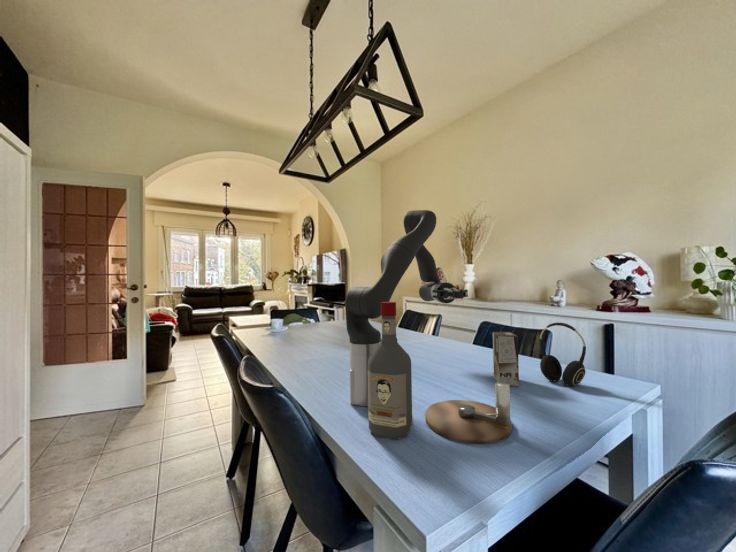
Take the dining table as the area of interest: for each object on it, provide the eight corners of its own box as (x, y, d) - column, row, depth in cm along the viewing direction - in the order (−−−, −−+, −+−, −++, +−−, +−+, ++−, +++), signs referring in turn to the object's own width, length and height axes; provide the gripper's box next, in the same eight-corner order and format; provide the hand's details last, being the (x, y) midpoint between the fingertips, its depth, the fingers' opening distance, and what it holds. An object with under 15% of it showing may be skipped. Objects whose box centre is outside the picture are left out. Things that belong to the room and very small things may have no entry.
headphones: (548, 375, 111) (546, 319, 111) (594, 387, 97) (592, 324, 98) (532, 379, 106) (531, 321, 107) (579, 392, 93) (577, 326, 94)
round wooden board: (437, 446, 65) (437, 437, 65) (417, 406, 85) (417, 400, 85) (529, 441, 66) (529, 433, 66) (488, 404, 86) (488, 397, 86)
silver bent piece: (455, 415, 76) (454, 377, 76) (462, 409, 79) (461, 373, 79) (507, 429, 68) (506, 388, 68) (512, 422, 71) (511, 383, 71)
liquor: (379, 418, 79) (376, 300, 79) (414, 423, 76) (411, 301, 76) (365, 435, 70) (363, 303, 71) (404, 442, 67) (402, 304, 67)
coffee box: (519, 386, 100) (518, 336, 100) (498, 385, 101) (497, 335, 101) (512, 377, 109) (511, 331, 109) (493, 376, 110) (492, 331, 110)
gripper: (425, 282, 114) (438, 283, 97) (460, 282, 115) (479, 282, 98) (425, 303, 114) (438, 307, 97) (460, 302, 115) (479, 306, 98)
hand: (459, 294), depth 97 cm, fingers closed
